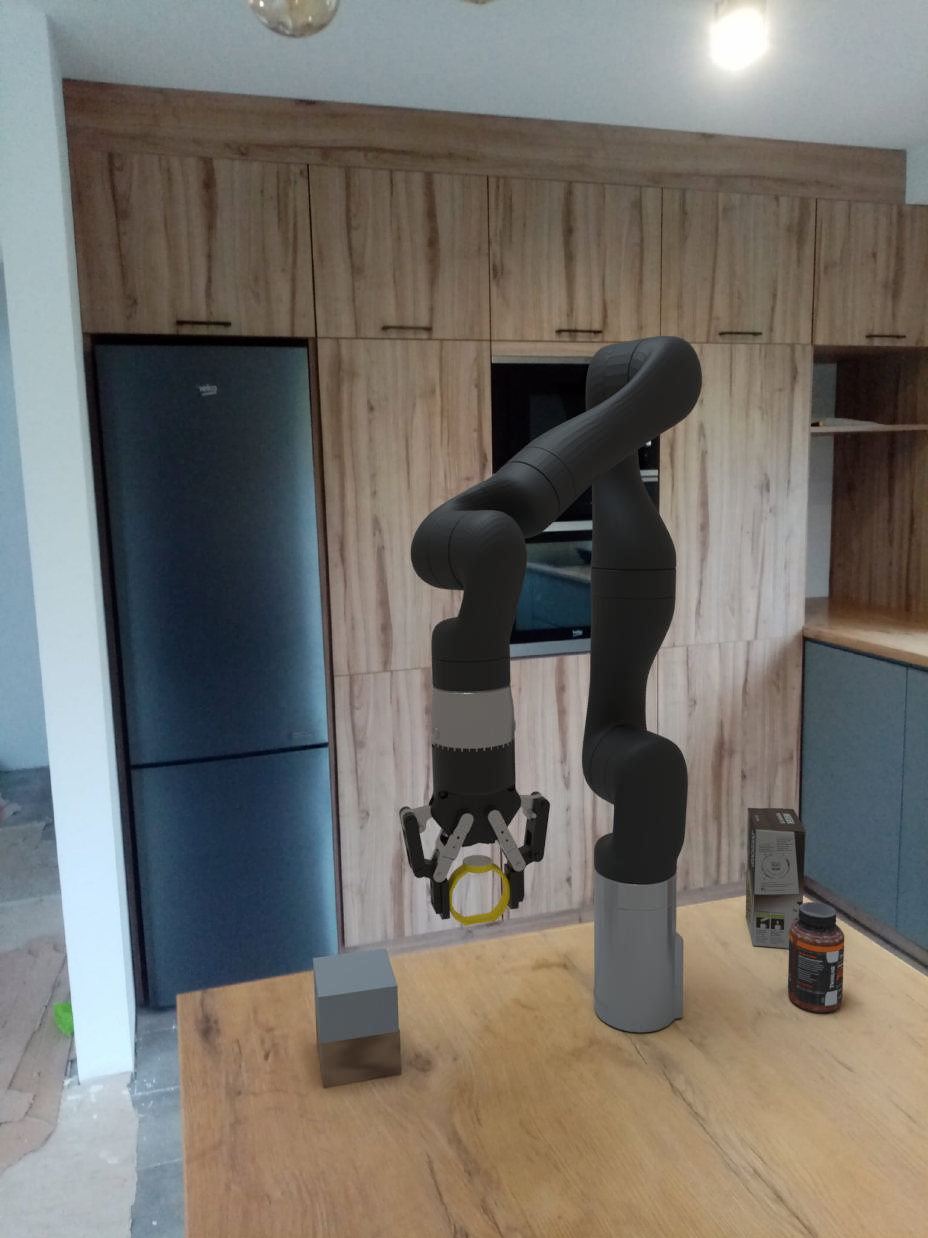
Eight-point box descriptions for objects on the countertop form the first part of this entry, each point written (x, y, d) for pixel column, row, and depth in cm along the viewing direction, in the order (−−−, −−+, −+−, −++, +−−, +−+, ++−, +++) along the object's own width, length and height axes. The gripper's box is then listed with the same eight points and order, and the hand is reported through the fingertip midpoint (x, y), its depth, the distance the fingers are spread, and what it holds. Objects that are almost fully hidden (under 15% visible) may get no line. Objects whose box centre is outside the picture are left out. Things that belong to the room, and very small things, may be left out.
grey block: (387, 990, 99) (385, 948, 98) (398, 1031, 91) (397, 985, 90) (314, 1001, 97) (312, 958, 96) (320, 1044, 89) (318, 997, 89)
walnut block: (388, 1032, 99) (387, 990, 99) (401, 1076, 92) (399, 1031, 91) (316, 1044, 97) (314, 1001, 97) (323, 1090, 90) (321, 1044, 89)
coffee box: (803, 950, 115) (807, 831, 113) (751, 947, 116) (754, 829, 114) (792, 918, 124) (795, 807, 122) (744, 915, 125) (746, 805, 123)
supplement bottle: (848, 1017, 100) (851, 922, 99) (792, 1013, 101) (795, 919, 100) (835, 989, 106) (838, 899, 105) (783, 985, 107) (785, 896, 106)
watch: (503, 912, 84) (505, 852, 83) (512, 926, 81) (515, 863, 81) (441, 918, 82) (444, 856, 82) (449, 931, 80) (451, 868, 79)
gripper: (535, 717, 85) (538, 884, 87) (387, 731, 81) (394, 904, 84) (562, 736, 78) (565, 918, 80) (401, 752, 74) (409, 941, 76)
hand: (477, 910), depth 82 cm, fingers closed on watch, 6 cm apart
